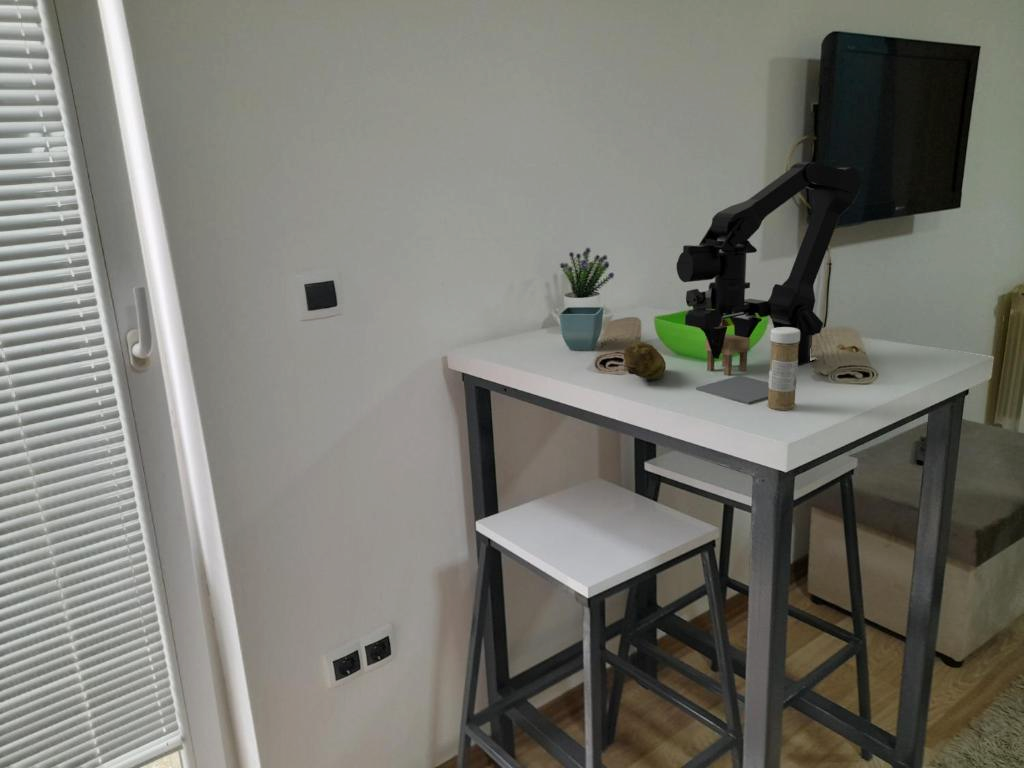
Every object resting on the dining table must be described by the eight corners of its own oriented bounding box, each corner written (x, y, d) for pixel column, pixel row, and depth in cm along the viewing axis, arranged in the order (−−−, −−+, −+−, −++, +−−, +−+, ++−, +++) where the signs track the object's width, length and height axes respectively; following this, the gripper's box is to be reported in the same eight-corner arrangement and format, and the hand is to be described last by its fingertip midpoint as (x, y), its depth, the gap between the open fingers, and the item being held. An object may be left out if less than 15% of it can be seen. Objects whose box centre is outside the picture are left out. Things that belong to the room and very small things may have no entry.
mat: (739, 377, 143) (739, 375, 143) (792, 390, 133) (793, 388, 133) (696, 389, 136) (696, 387, 136) (748, 404, 127) (748, 402, 127)
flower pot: (559, 352, 169) (558, 313, 166) (567, 343, 177) (566, 306, 174) (597, 353, 166) (596, 314, 164) (604, 344, 174) (603, 306, 172)
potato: (682, 375, 146) (683, 335, 144) (646, 390, 137) (646, 349, 135) (647, 369, 152) (647, 330, 149) (609, 383, 143) (609, 343, 141)
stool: (725, 364, 152) (726, 333, 150) (748, 370, 147) (750, 338, 145) (704, 370, 149) (705, 338, 147) (728, 376, 144) (729, 343, 142)
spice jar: (774, 401, 128) (778, 325, 124) (800, 406, 125) (805, 328, 121) (762, 408, 125) (766, 330, 121) (788, 413, 122) (793, 333, 118)
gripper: (730, 268, 154) (727, 341, 158) (665, 279, 144) (664, 356, 149) (774, 273, 145) (770, 350, 149) (708, 285, 135) (706, 367, 140)
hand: (727, 355), depth 147 cm, fingers closed on stool, 6 cm apart
